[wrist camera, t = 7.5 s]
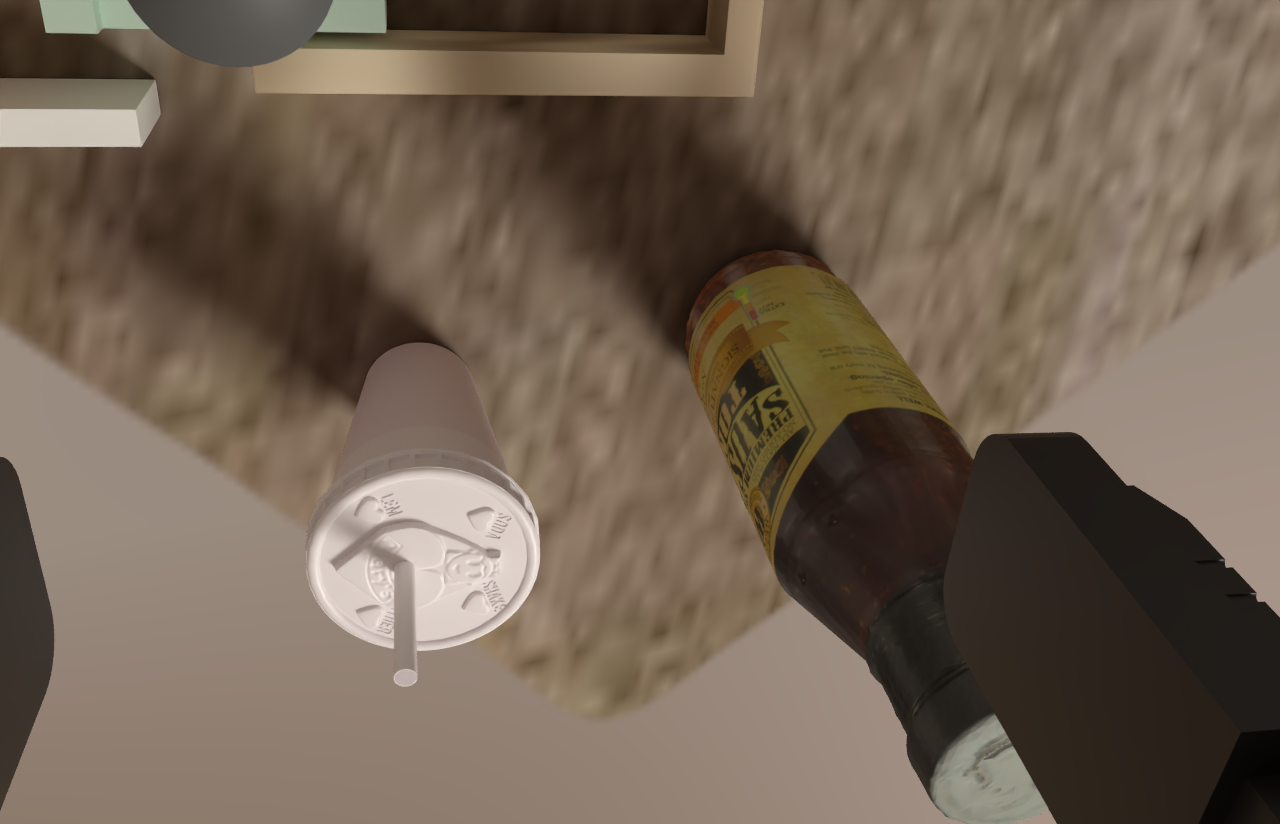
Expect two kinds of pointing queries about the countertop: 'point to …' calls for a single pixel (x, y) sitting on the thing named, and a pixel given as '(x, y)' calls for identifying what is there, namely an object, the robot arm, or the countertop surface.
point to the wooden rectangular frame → (529, 61)
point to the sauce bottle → (855, 503)
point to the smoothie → (421, 515)
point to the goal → (77, 112)
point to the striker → (221, 23)
